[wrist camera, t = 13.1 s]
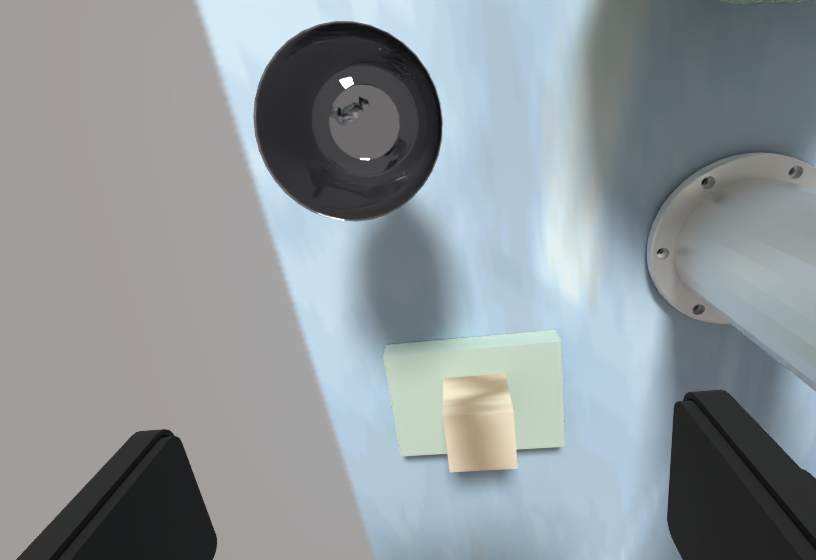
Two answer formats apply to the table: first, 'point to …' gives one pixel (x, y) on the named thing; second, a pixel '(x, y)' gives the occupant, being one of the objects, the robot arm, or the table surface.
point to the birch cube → (479, 423)
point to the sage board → (473, 356)
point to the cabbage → (755, 0)
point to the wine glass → (348, 121)
